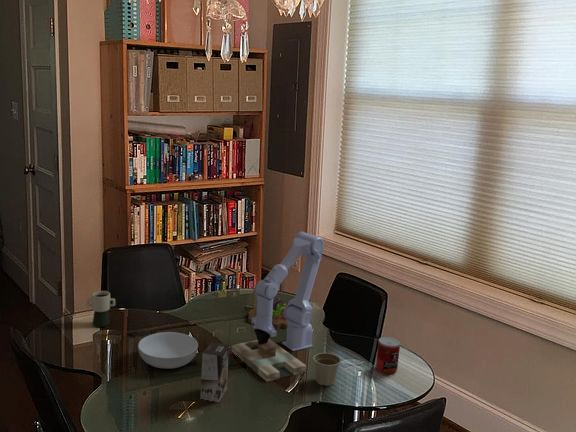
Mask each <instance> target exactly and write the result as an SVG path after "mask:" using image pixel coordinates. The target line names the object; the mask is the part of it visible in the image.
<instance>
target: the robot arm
mask: <svg viewBox="0 0 576 432" xmlns="http://www.w3.org/2000/svg"><path fill="white" fill-rule="evenodd" d="M292 240H293V241H292V242H293V243H292V244H293V245H292V246H291V248H290V250H289V251H288V252H287V253H286V255H285V256H284V258H283V260H281V262H280V263H279V264H275V265H273V267H272V268H271V270H270V271H269V273H267V275H266V276H265V277H264V279H261V280H259V281H258V282H257V283H256V284H255V287H254V288H253V289H254V290H253V291H254V293H255V295H256V297H255V298H256V302H257V303H256V307H257V315H256V317H254V318H252V321H251V323H253V324H252V325H253V326H252V327H253V328H254V330H253V331H254V333H255V336H256V338H257V339H256V340H258V344H264V343H267V342H268V340H269V339H271V338H276V337H277V330H276V329H274V327H273V325H272V312H273V299H274V298H276V297H277V294H278V291H279V289H280V285H281V284H282V283H283V281H284V280H285V279H286V278H287V276H288V275H289V271H288V270H289V269H290V268H291V267H292V266H293V265H294V264H295V263H296V262H297V261H298V259H299V258H300V257H301V256H304V257H305V262H304V265H303V267H302V272H301V275H300V279H299V281H298V282H299V283H298V285H297V289H296V293H295V296H294V297H293V298H291V299H289V300H288V304H286V306H285V310H284V317H285V319H287V321H286V322H287V323H288V326H287V328H286V340H285V341H282V342H281V344H282V345H284V346H285V347H286V348H288V349H289V350H290V351H293V352H296V351H299V350H304V349H309V348H313V332H314V331H313V326H312V324H311V321H312V312H313V306H312V305H311V303H310V302H309V301H310V298H311V294H312V290H313V288H314V284H315V280H316V277H317V273H318V270H319V267H320V264H321V260H322V255H323V252H324V249H325V248H324V247H325V245H326V244H325V242H324V240H323V238H322V237H321V236H317V235H313V234H311V233H307V232H305V231H300V232H298V233H297V235H296V236H295V238H293V239H292ZM251 323H250V324H251Z"/></svg>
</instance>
